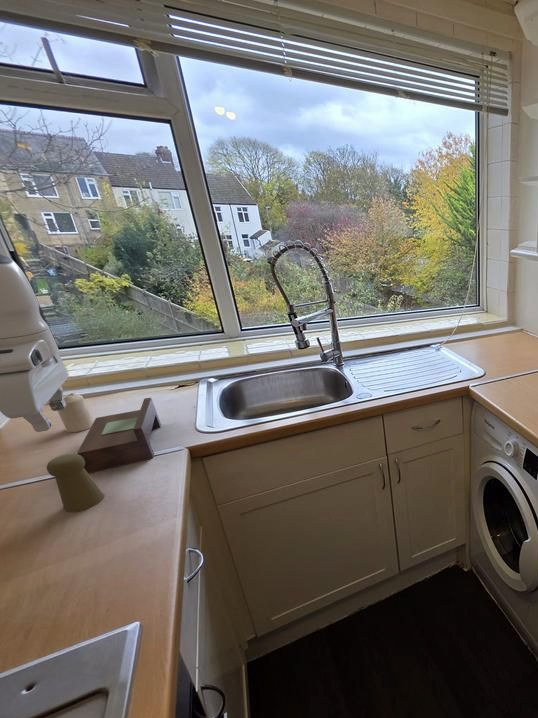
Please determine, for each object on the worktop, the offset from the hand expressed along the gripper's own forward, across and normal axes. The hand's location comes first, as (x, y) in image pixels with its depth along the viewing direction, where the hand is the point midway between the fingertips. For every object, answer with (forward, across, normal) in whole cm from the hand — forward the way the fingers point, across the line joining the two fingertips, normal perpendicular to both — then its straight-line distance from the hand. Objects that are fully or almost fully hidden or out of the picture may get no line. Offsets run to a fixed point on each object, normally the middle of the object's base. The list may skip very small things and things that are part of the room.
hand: (52, 418), depth 76 cm
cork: (+20, -2, -2) cm, 21 cm away
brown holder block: (+20, -25, +2) cm, 32 cm away
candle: (+21, -44, -10) cm, 50 cm away
